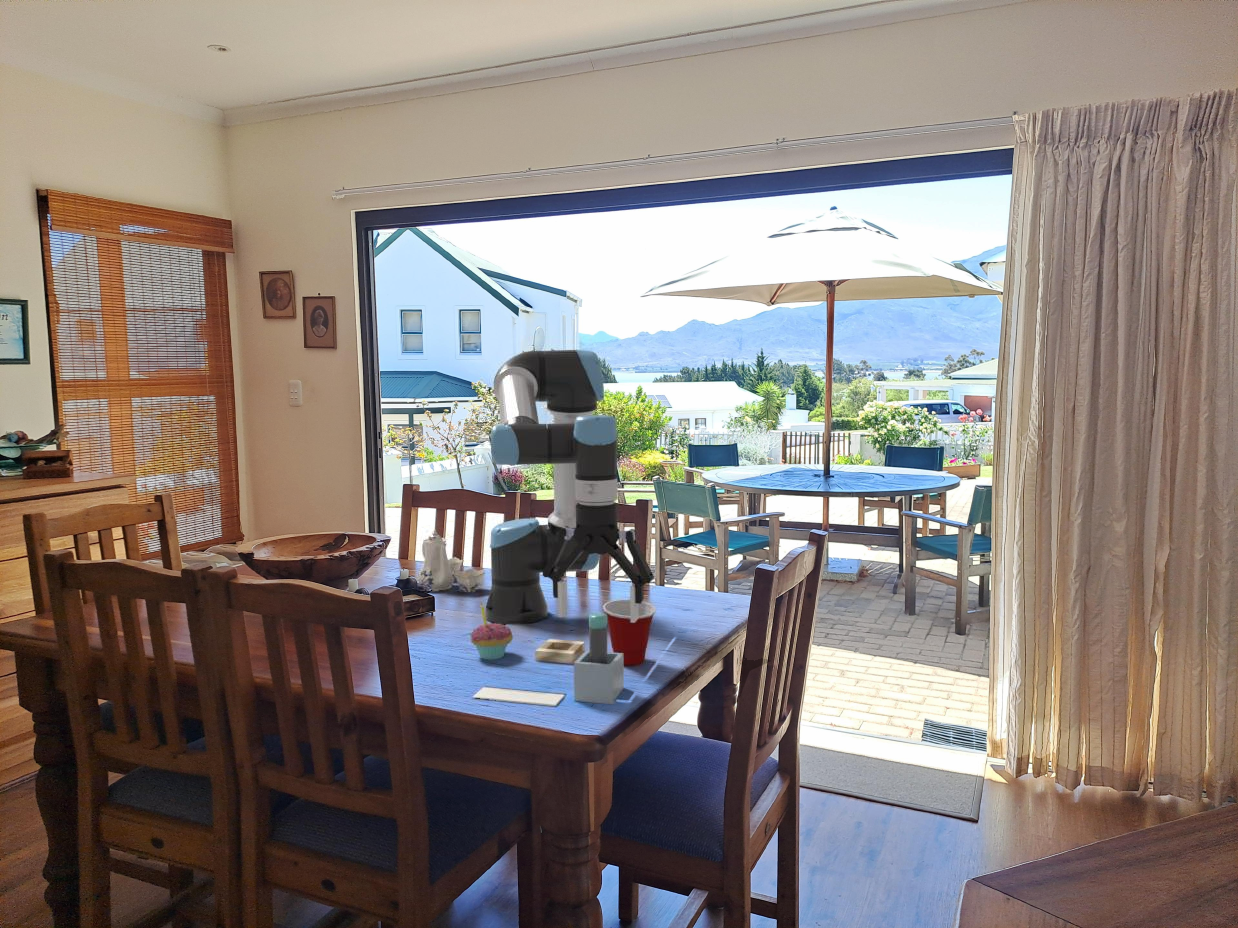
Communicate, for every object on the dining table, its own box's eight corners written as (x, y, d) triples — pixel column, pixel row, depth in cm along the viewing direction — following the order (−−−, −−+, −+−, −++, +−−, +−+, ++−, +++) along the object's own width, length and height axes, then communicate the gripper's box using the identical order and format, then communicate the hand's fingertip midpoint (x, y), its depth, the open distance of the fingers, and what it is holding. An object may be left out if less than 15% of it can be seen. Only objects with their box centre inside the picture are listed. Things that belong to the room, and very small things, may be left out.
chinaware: (495, 597, 234) (499, 537, 233) (438, 601, 224) (442, 538, 223) (451, 578, 256) (455, 523, 256) (398, 581, 247) (401, 523, 246)
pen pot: (574, 700, 154) (573, 662, 154) (586, 686, 161) (586, 650, 160) (612, 704, 152) (612, 665, 152) (623, 689, 159) (623, 653, 159)
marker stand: (535, 662, 175) (535, 650, 175) (549, 650, 183) (548, 638, 182) (572, 665, 173) (572, 653, 173) (584, 653, 181) (584, 641, 180)
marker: (591, 694, 154) (590, 618, 153) (588, 687, 158) (587, 613, 156) (609, 693, 155) (608, 617, 154) (606, 686, 158) (605, 612, 157)
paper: (472, 698, 156) (472, 696, 156) (503, 672, 169) (503, 670, 169) (555, 706, 152) (555, 704, 152) (580, 679, 165) (580, 677, 165)
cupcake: (477, 666, 173) (475, 608, 172) (466, 654, 181) (465, 598, 180) (518, 660, 177) (516, 603, 175) (506, 648, 184) (505, 593, 183)
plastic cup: (632, 676, 166) (631, 616, 165) (592, 664, 173) (591, 606, 172) (668, 662, 174) (667, 604, 173) (628, 651, 181) (628, 596, 180)
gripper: (523, 502, 153) (526, 618, 155) (660, 507, 146) (660, 628, 149) (538, 496, 160) (541, 607, 163) (669, 501, 153) (670, 616, 156)
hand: (598, 617), depth 156 cm, fingers open, 13 cm apart
